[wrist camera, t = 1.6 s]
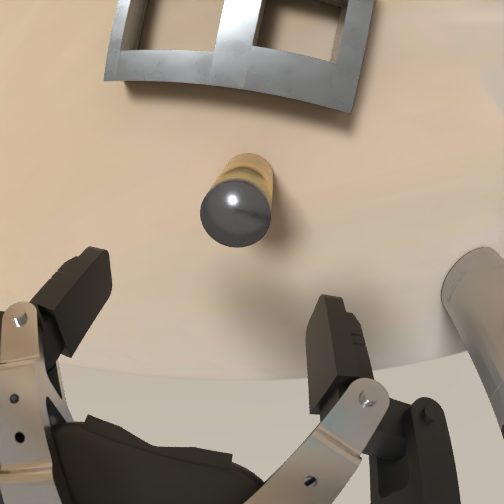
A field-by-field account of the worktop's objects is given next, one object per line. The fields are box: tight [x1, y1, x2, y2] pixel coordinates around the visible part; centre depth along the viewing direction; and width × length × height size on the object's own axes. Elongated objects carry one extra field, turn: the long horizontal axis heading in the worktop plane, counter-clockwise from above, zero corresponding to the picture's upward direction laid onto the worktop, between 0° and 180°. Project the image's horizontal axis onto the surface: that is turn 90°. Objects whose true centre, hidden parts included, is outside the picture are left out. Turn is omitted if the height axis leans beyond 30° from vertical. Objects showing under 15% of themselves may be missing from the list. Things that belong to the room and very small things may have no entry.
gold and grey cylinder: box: [200, 153, 273, 247], centre depth 20 cm, size 4×4×8 cm
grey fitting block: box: [104, 0, 374, 114], centre depth 15 cm, size 18×12×3 cm, turn 80°
